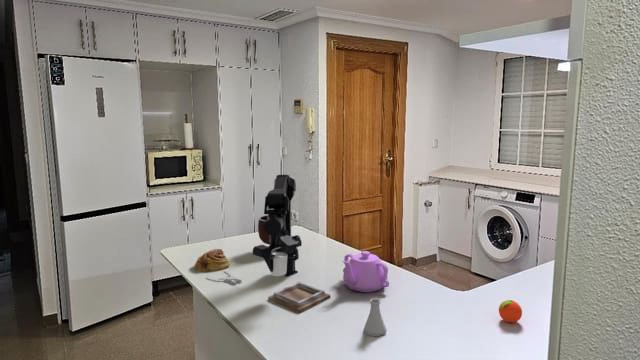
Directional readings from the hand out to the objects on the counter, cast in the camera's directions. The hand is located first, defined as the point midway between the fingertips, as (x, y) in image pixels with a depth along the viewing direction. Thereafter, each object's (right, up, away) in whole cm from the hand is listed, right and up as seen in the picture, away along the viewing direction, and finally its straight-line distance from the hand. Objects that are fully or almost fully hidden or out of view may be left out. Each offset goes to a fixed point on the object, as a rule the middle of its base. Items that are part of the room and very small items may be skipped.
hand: (278, 269), depth 157 cm
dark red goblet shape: (-8, -3, +53) cm, 54 cm away
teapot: (+31, -10, +10) cm, 34 cm away
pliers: (-23, -9, +20) cm, 32 cm away
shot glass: (0, -2, 0) cm, 2 cm away
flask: (+32, -15, -22) cm, 42 cm away
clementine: (+76, -14, -18) cm, 79 cm away
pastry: (-33, -6, +35) cm, 49 cm away
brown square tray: (+8, -11, +1) cm, 13 cm away
